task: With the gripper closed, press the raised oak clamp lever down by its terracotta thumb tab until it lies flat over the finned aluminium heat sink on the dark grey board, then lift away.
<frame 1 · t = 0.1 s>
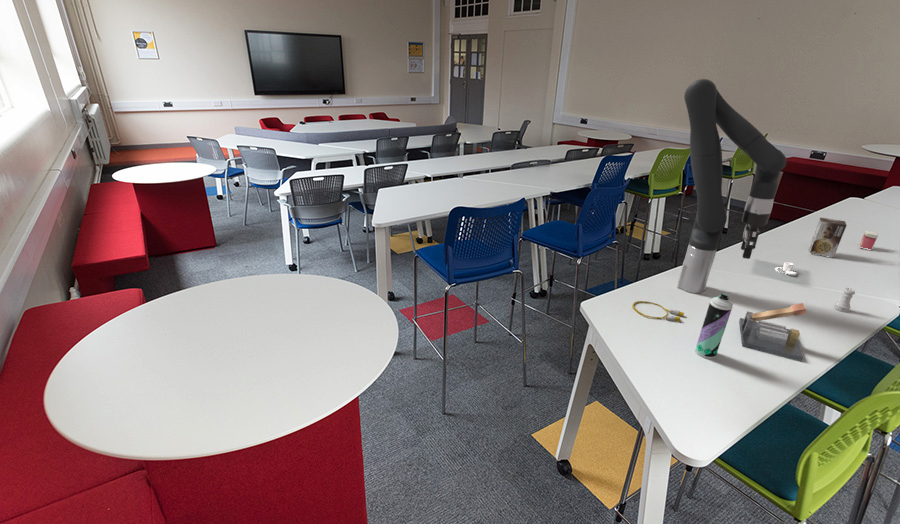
hand: (745, 253, 157), 17 cm above the table, tool pointing down, fingers open, 8 cm apart
spray can: (704, 353, 131), on the table
rook chess piece: (840, 309, 158), on the table
extension cord: (655, 314, 152), on the table
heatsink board: (768, 340, 138), on the table
clamp lever: (749, 318, 139), point 6 cm above the table, hinge at 30.0°
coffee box: (819, 254, 205), on the table
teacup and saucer: (780, 273, 185), on the table
small box: (864, 248, 213), on the table
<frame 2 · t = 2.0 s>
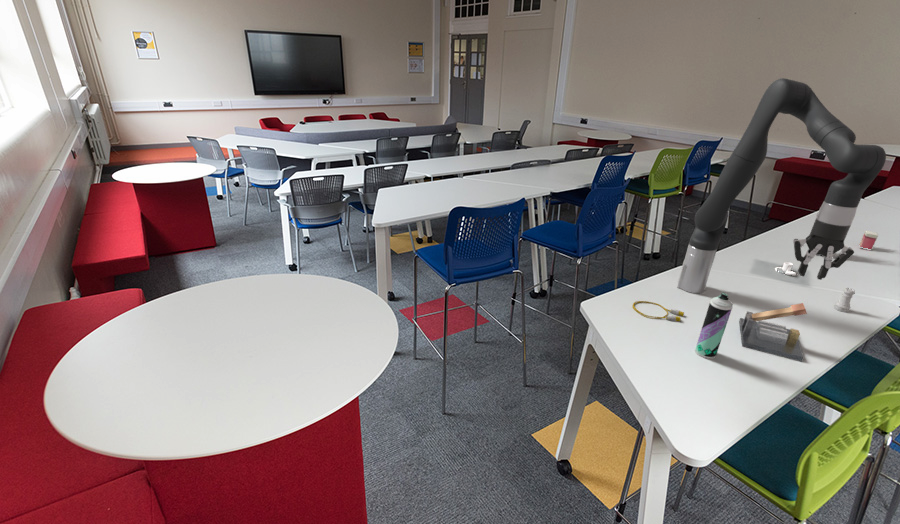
hand: (810, 276, 127), 23 cm above the table, tool pointing down, fingers open, 3 cm apart
nothing on the table moved.
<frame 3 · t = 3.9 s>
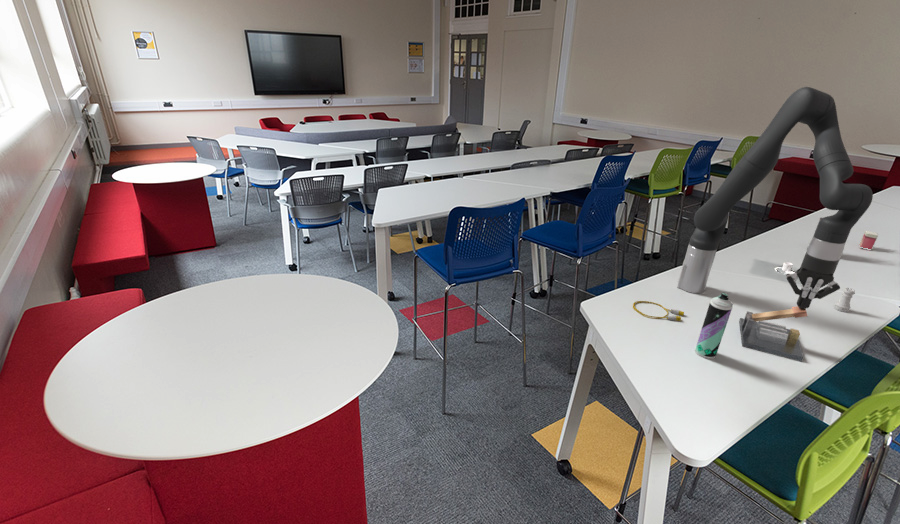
hand: (801, 308, 131), 13 cm above the table, tool pointing down, fingers closed
clamp lever: (749, 318, 139), point 6 cm above the table, hinge at 26.7°, touching gripper
everything else where it was.
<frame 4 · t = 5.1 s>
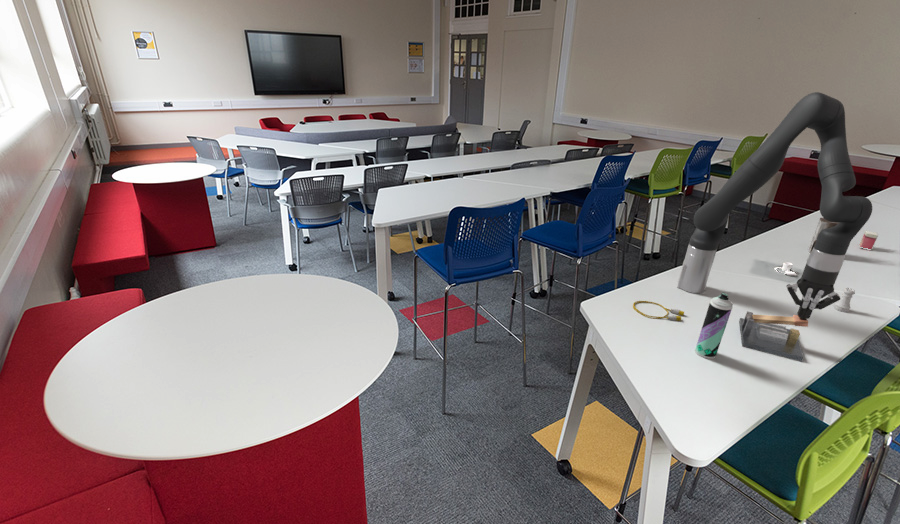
hand: (802, 318, 132), 10 cm above the table, tool pointing down, fingers closed
clamp lever: (749, 318, 139), point 6 cm above the table, hinge at 12.6°, touching gripper
everything else where it was.
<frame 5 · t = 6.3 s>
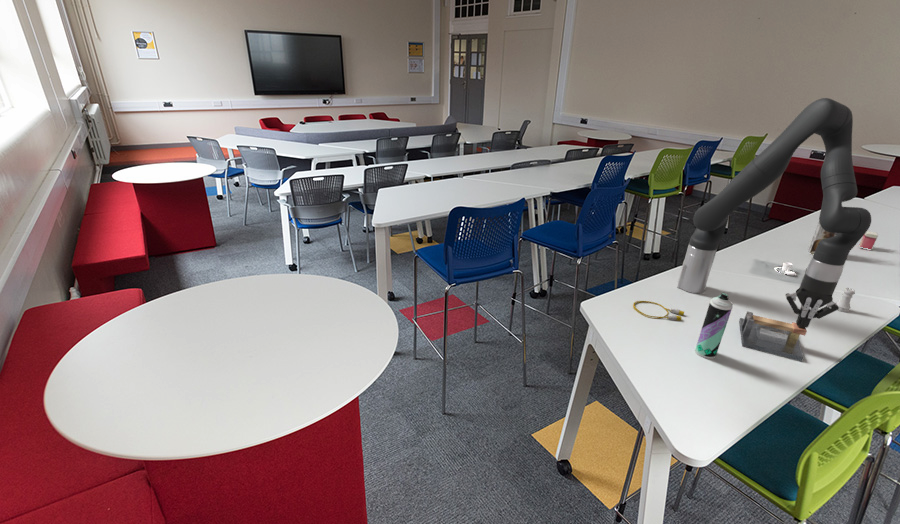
hand: (800, 327, 133), 7 cm above the table, tool pointing down, fingers closed
clamp lever: (749, 318, 139), point 6 cm above the table, hinge at 0.1°, touching gripper
everything else where it was.
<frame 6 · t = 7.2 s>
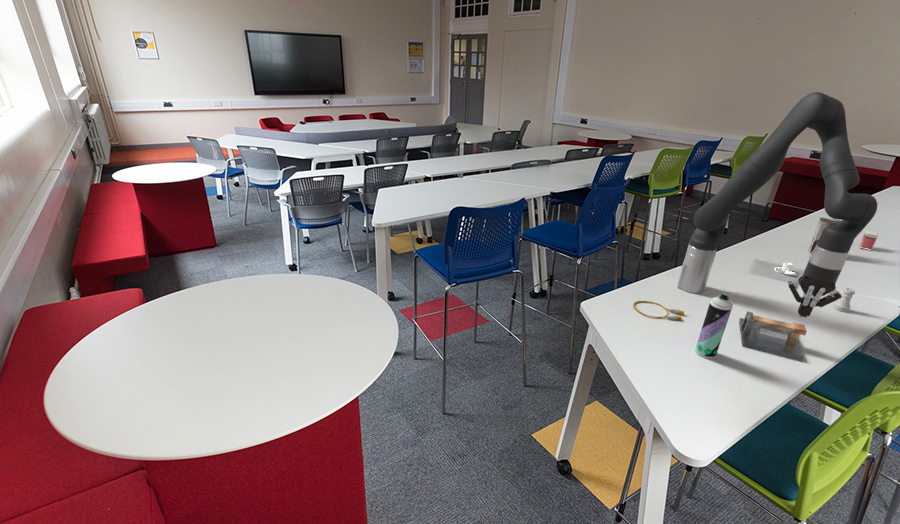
hand: (802, 315, 131), 11 cm above the table, tool pointing down, fingers closed
clamp lever: (749, 318, 139), point 6 cm above the table, hinge at 0.1°
everything else where it was.
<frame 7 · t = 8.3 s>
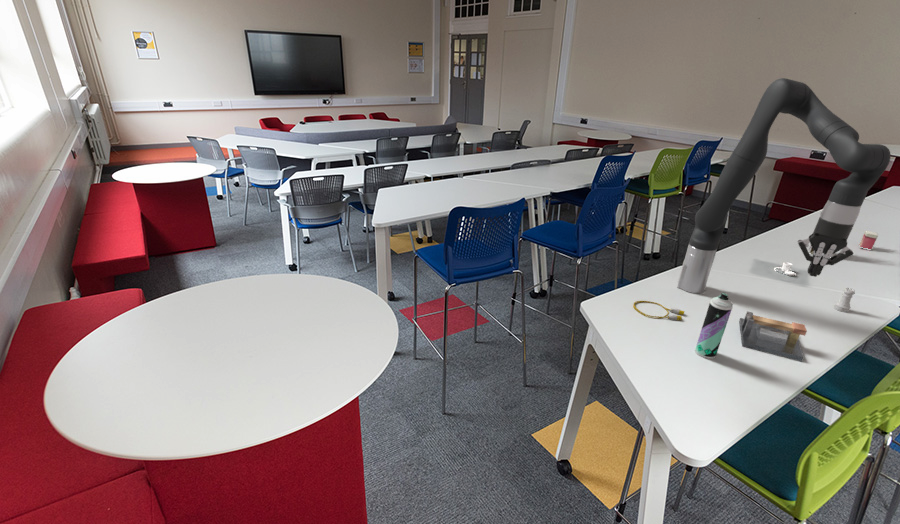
hand: (812, 275, 128), 23 cm above the table, tool pointing down, fingers closed
nothing on the table moved.
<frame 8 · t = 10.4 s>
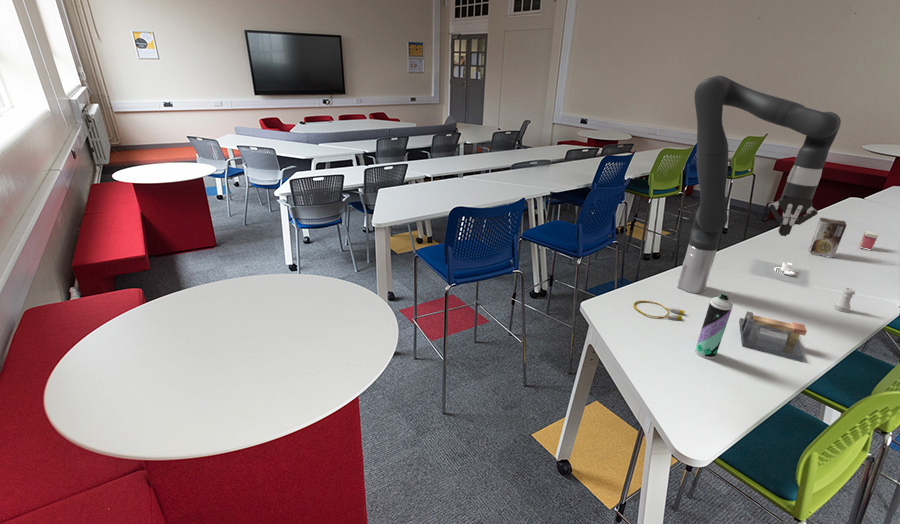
hand: (782, 235, 141), 29 cm above the table, tool pointing down, fingers closed
nothing on the table moved.
at the end: clamp lever at +0° (first picture: +30°); spray can tilted 0° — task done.
